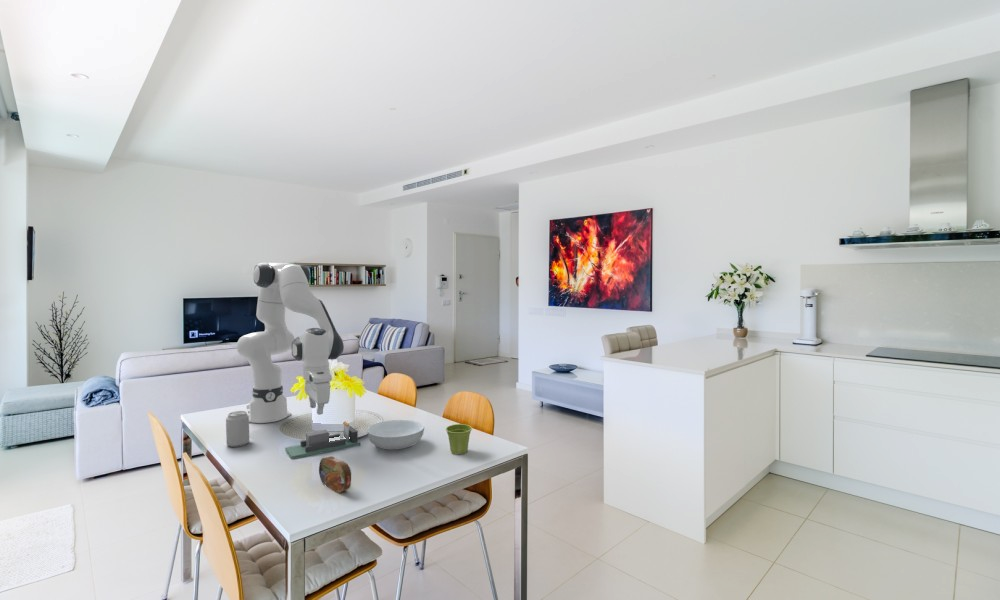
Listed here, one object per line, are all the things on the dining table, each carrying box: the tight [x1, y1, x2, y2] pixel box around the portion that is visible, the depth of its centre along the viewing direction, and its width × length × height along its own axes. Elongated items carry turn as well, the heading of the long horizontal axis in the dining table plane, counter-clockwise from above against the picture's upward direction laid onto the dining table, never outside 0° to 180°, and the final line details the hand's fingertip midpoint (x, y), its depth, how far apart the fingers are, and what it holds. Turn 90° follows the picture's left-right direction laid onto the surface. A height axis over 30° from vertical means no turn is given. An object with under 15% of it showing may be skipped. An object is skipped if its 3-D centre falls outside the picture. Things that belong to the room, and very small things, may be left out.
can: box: [225, 410, 250, 448], centre depth 173 cm, size 8×8×12 cm
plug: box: [305, 429, 330, 446], centre depth 169 cm, size 4×7×5 cm, turn 126°
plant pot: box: [445, 423, 473, 455], centre depth 167 cm, size 9×9×9 cm
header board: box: [284, 421, 361, 460], centre depth 170 cm, size 10×24×8 cm, turn 126°
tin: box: [318, 455, 352, 494], centre depth 138 cm, size 15×3×8 cm, turn 48°
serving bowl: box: [366, 419, 425, 451], centre depth 173 cm, size 21×21×7 cm
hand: (316, 410), depth 169 cm, fingers open, 8 cm apart
